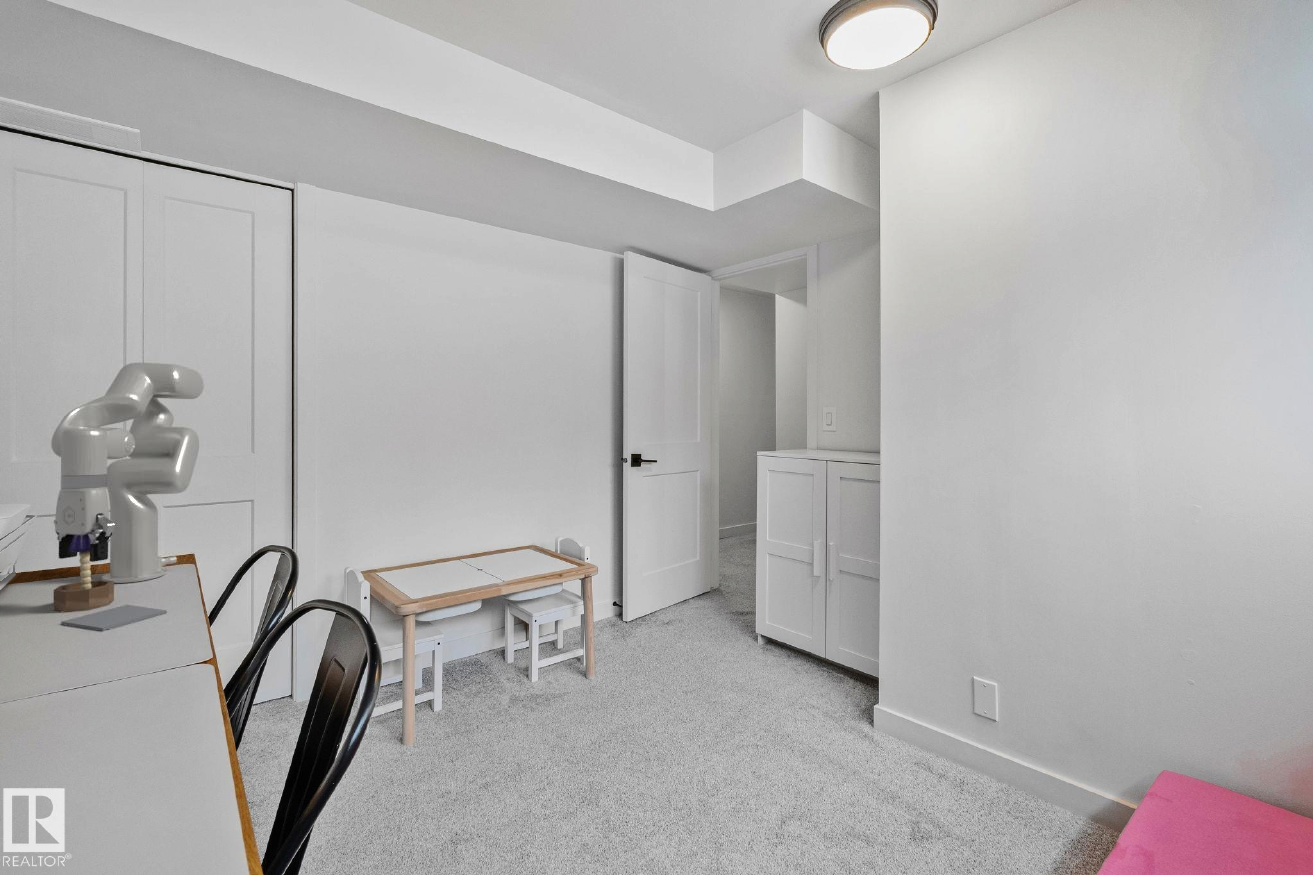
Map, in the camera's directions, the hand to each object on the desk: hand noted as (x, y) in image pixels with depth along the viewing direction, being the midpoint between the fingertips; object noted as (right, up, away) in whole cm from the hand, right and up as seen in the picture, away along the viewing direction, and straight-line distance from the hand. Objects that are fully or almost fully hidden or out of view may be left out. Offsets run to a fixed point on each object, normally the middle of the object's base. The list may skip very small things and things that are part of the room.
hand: (83, 558), depth 134 cm
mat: (+14, -11, -7) cm, 19 cm away
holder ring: (0, -11, +1) cm, 11 cm away
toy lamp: (0, -11, +1) cm, 11 cm away
